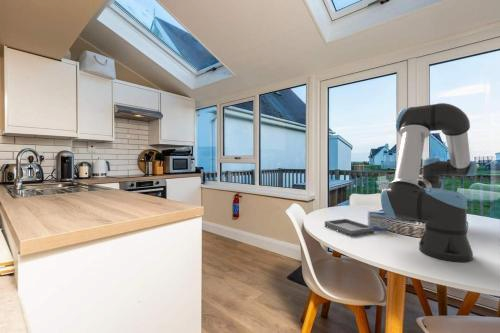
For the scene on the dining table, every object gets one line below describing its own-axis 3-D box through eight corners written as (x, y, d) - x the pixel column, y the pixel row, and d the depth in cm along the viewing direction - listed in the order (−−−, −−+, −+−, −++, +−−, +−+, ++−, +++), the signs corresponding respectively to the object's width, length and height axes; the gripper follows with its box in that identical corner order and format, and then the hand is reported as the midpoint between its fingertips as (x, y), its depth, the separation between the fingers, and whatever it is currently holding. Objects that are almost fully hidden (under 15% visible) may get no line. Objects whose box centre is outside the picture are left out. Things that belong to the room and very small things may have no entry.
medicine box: (369, 229, 117) (369, 212, 117) (367, 227, 122) (367, 210, 121) (387, 230, 115) (387, 212, 115) (384, 228, 119) (384, 211, 119)
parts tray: (374, 232, 112) (374, 227, 112) (351, 236, 107) (351, 230, 107) (345, 223, 129) (345, 218, 129) (324, 226, 124) (324, 221, 124)
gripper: (445, 197, 118) (416, 200, 110) (397, 190, 141) (370, 193, 133) (445, 181, 117) (416, 184, 110) (397, 178, 141) (370, 179, 133)
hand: (391, 189), depth 121 cm, fingers open, 13 cm apart
